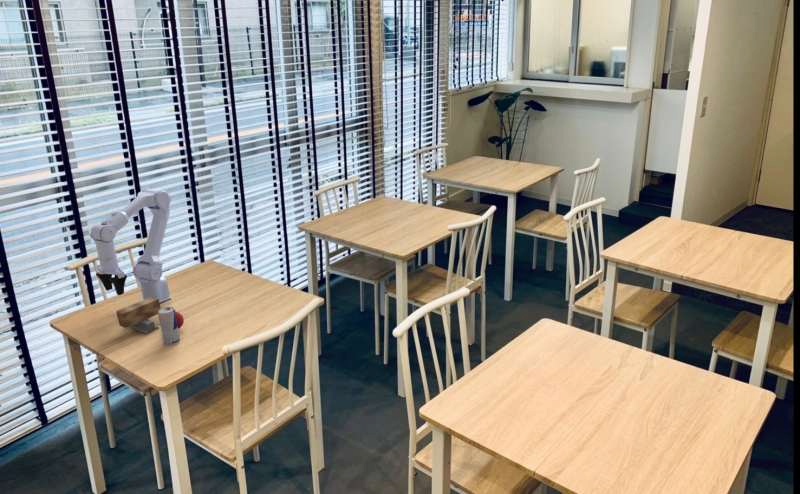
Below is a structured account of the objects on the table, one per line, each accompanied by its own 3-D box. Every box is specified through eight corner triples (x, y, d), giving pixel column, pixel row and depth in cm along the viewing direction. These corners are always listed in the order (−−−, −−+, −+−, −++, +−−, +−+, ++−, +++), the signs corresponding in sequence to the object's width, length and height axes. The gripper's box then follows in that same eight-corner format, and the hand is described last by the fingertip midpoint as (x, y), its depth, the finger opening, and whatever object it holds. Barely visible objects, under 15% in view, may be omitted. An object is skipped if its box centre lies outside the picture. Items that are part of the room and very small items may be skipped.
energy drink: (182, 338, 216) (177, 306, 212) (176, 346, 211) (170, 313, 207) (167, 338, 217) (161, 306, 213) (160, 345, 212) (154, 313, 208)
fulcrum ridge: (139, 320, 231) (137, 312, 230) (158, 328, 224) (157, 320, 223) (126, 325, 227) (125, 317, 226) (146, 334, 220) (144, 325, 219)
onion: (181, 334, 219) (178, 313, 216) (165, 334, 219) (161, 313, 217) (187, 326, 225) (183, 306, 222) (171, 326, 225) (167, 306, 222)
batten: (154, 310, 231) (152, 296, 229) (161, 312, 229) (158, 299, 227) (119, 325, 220) (116, 311, 219) (125, 328, 218) (122, 313, 216)
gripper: (86, 256, 226) (93, 291, 231) (108, 264, 218) (115, 300, 223) (104, 250, 232) (111, 284, 236) (126, 258, 223) (133, 293, 228)
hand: (114, 292), depth 230 cm, fingers open, 7 cm apart
